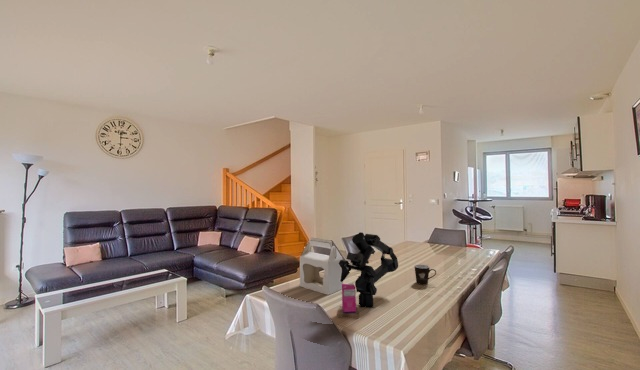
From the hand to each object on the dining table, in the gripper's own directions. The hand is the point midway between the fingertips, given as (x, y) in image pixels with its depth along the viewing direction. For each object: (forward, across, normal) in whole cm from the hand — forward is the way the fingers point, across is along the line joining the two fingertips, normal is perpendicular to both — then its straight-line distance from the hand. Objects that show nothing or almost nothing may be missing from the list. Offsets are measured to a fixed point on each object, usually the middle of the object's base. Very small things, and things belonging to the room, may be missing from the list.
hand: (348, 283), depth 137 cm
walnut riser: (+10, 0, +10) cm, 14 cm away
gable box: (-1, -34, +21) cm, 40 cm away
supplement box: (+9, 0, +9) cm, 12 cm away
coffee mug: (-36, +5, +55) cm, 66 cm away
